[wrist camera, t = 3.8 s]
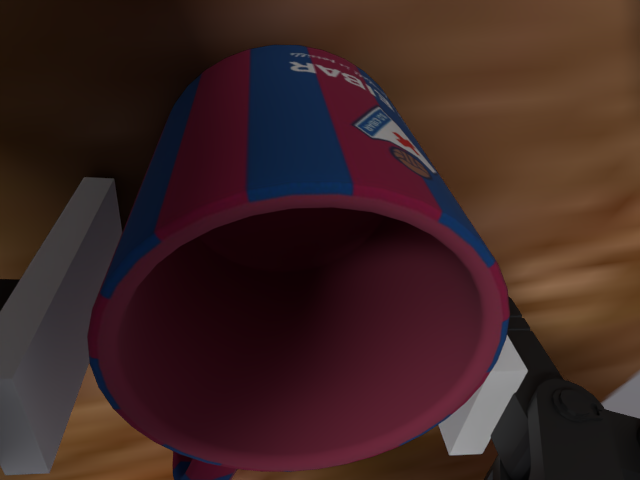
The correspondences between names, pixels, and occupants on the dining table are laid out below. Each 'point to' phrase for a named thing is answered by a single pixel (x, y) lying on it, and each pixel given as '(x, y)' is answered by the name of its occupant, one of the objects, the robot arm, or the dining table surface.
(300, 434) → the mug
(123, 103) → the dining table surface
